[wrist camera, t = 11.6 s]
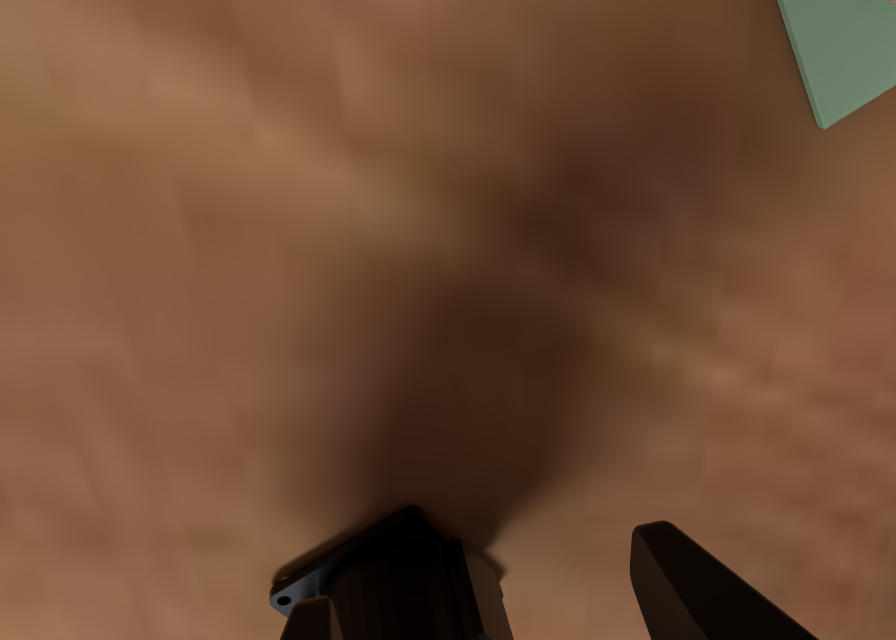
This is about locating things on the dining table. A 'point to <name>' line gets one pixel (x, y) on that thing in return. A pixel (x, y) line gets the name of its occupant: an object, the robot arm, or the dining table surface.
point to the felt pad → (842, 52)
